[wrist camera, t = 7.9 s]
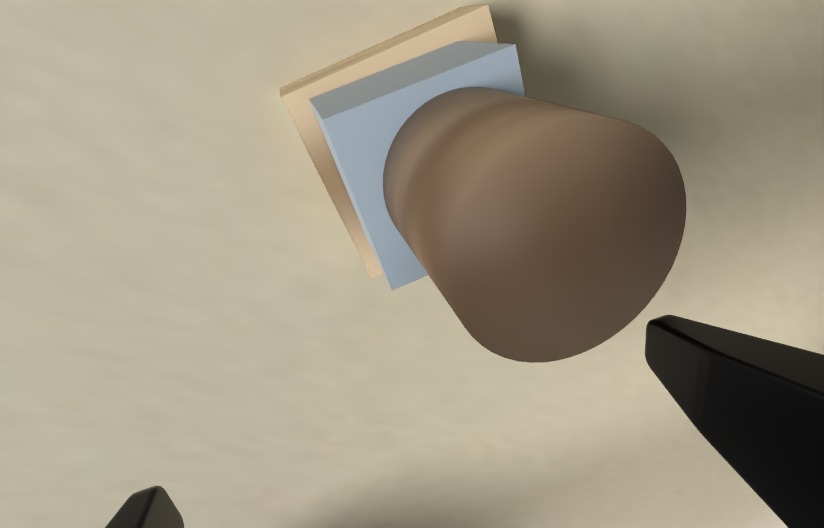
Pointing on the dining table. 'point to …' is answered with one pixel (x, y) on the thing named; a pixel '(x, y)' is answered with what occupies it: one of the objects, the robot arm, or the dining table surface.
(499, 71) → the top block
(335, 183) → the base block
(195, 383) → the dining table surface
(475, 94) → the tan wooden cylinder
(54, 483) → the dining table surface
